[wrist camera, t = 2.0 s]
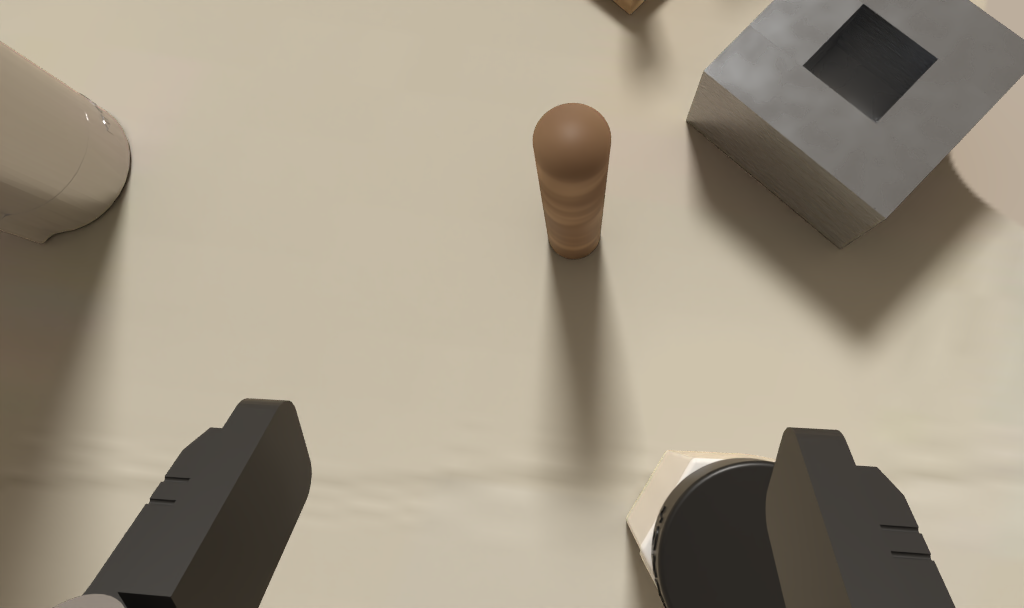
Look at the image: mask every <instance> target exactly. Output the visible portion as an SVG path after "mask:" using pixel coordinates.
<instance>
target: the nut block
mask: <svg viewBox="0 0 1024 608" xmlns="http://www.w3.org/2000/svg"><path fill="white" fill-rule="evenodd" d="M1023 74H1024V39H1022V38H1021V37H1019V36H1018V35H1017V34H1015V33H1014V32H1012V31H1011V30H1010V29H1008V28H1007V27H1005V26H1004V25H1003V24H1001V23H1000V22H998V21H997V20H995V19H994V18H993V17H991V16H990V15H989V14H987V13H986V12H984V11H983V10H982V9H980V8H979V7H977V6H976V5H975V4H973V3H972V2H970V1H969V0H774V1H773V2H772V3H771V4H770V5H769V6H768V7H767V8H766V9H765V10H764V11H763V12H762V13H761V14H760V15H759V16H758V17H757V18H756V19H755V20H754V21H753V22H752V23H751V24H750V25H749V26H748V27H747V28H746V29H745V30H744V31H743V32H742V33H741V34H740V35H739V36H738V37H737V38H736V39H735V40H734V41H733V42H732V43H731V44H730V45H729V46H728V47H727V48H726V49H725V50H724V51H723V52H722V53H721V54H720V55H719V56H718V57H717V58H716V59H715V60H714V61H713V62H712V63H711V64H710V65H709V66H708V67H707V68H706V69H705V70H704V71H703V74H702V77H701V80H700V83H699V85H698V88H697V91H696V94H695V97H694V100H693V102H692V105H691V108H690V111H689V114H688V116H687V119H686V121H687V122H689V123H690V124H691V125H692V126H693V127H694V128H696V129H697V130H698V131H699V132H700V133H702V134H703V135H704V136H705V137H706V138H708V139H709V140H710V141H711V142H712V143H714V144H715V145H716V146H717V147H718V148H720V149H721V150H722V151H723V152H724V153H726V154H727V155H728V156H729V157H730V158H732V159H733V160H734V161H735V162H736V163H738V164H739V165H740V166H741V167H742V168H744V169H745V170H746V171H747V172H748V173H750V174H751V175H752V176H753V177H754V178H756V179H757V180H758V181H759V182H760V183H762V184H763V185H764V186H765V187H766V188H768V189H769V190H770V191H771V192H772V193H774V194H775V195H776V196H777V197H778V198H780V199H781V200H782V201H783V202H784V203H786V204H787V205H788V206H789V207H790V208H792V209H793V210H794V211H795V212H796V213H798V214H799V215H800V216H801V217H802V218H804V219H805V220H806V221H807V222H808V223H809V224H811V225H812V226H813V227H814V228H815V229H817V230H818V231H819V232H820V233H821V234H823V235H824V236H825V237H826V238H827V239H829V240H830V241H831V242H832V243H833V244H835V245H836V246H837V247H838V248H839V249H841V248H843V247H844V246H846V245H847V244H849V243H850V242H852V241H853V240H855V239H856V238H858V237H859V236H861V235H862V234H864V233H865V232H867V231H868V230H870V229H871V228H873V227H874V226H876V225H877V224H879V223H880V222H882V221H883V220H885V219H886V218H887V217H888V216H889V215H890V214H891V213H892V212H893V211H894V210H895V209H896V208H897V207H898V206H899V205H900V204H901V202H902V201H903V200H904V199H905V198H906V197H907V196H908V195H909V194H910V193H911V192H912V191H913V190H914V189H915V188H916V187H917V186H918V185H919V184H920V183H921V181H922V180H923V179H924V178H925V177H926V176H927V175H928V174H929V173H930V172H931V171H932V170H933V169H934V168H935V167H936V166H937V165H938V164H939V163H940V162H941V160H942V159H943V158H944V157H945V156H946V155H947V154H948V153H949V152H950V151H951V150H952V149H953V148H954V147H955V146H956V145H957V144H958V143H959V142H960V140H961V139H962V138H963V137H964V136H965V135H966V134H967V133H968V132H969V131H970V130H971V129H972V128H973V127H974V126H975V125H976V124H977V123H978V122H979V120H981V119H982V117H983V116H984V115H985V114H986V113H987V112H988V111H989V110H990V109H991V108H992V107H993V106H994V105H995V104H996V103H997V102H998V101H999V99H1001V98H1002V96H1003V95H1004V94H1005V93H1006V92H1007V91H1008V90H1009V89H1010V88H1011V87H1012V86H1013V85H1014V84H1015V83H1016V82H1017V81H1018V79H1020V78H1021V76H1023Z"/></svg>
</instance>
